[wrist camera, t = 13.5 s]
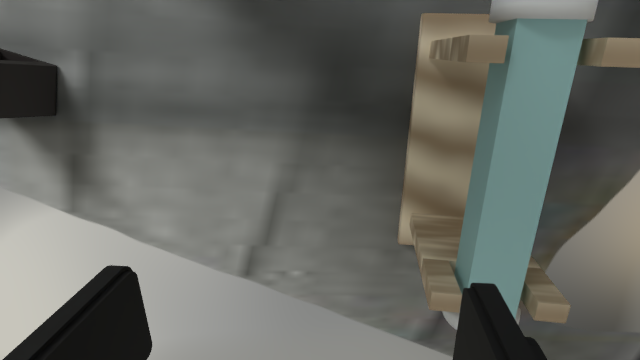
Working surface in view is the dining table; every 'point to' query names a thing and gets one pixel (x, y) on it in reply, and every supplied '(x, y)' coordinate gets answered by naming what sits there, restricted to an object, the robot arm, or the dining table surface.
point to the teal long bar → (518, 141)
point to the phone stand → (26, 86)
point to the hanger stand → (465, 149)
